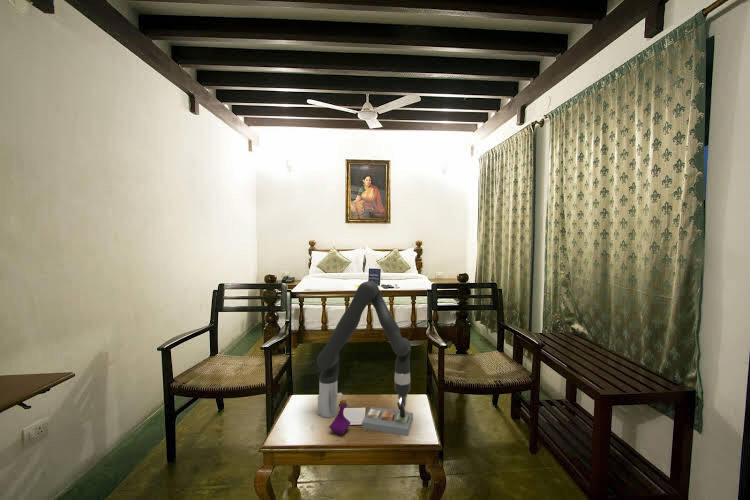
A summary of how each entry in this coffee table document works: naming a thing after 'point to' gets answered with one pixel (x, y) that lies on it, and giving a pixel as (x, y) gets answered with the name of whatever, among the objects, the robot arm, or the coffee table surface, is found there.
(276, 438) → the coffee table surface
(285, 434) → the coffee table surface
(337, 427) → the perfume bottle
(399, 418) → the sage tile
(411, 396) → the coffee table surface
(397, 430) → the tile board
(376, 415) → the cream tile
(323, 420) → the coffee table surface
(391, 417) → the terracotta tile
